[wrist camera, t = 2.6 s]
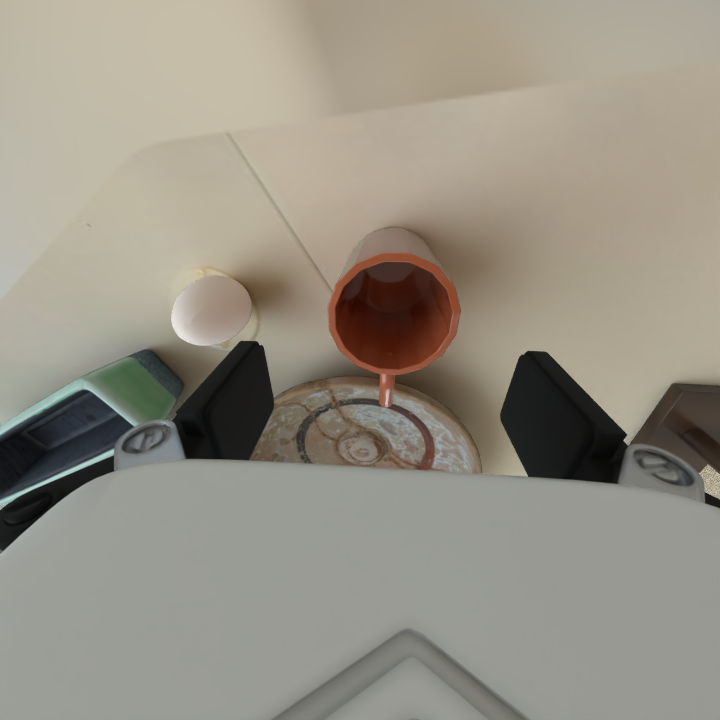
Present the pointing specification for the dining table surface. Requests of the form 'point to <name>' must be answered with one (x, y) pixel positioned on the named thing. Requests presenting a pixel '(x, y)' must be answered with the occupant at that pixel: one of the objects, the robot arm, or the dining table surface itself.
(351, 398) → the ceramic bowl
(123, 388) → the planter
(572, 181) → the dining table surface
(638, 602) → the robot arm
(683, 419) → the bent pole stand
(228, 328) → the egg
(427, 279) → the mug
